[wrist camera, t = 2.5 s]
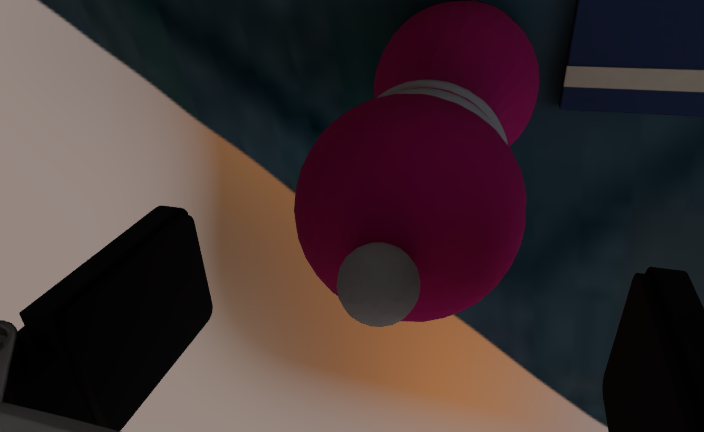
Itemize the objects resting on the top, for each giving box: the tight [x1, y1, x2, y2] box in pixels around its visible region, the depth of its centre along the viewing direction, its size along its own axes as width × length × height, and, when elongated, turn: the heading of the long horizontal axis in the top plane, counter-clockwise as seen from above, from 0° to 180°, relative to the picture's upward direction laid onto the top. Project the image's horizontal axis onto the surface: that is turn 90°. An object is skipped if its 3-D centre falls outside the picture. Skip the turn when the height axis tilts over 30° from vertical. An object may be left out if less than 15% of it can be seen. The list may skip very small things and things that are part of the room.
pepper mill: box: [294, 1, 539, 327], centre depth 18 cm, size 7×7×20 cm
